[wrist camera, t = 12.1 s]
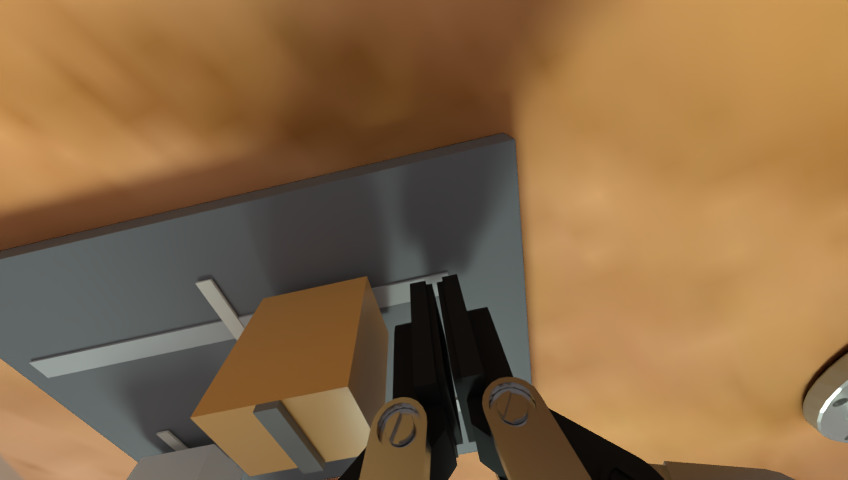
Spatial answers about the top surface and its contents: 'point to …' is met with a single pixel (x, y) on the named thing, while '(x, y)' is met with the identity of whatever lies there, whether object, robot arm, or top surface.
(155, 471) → the fader white
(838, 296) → the top surface
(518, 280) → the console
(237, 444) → the fader orange
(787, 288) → the top surface
